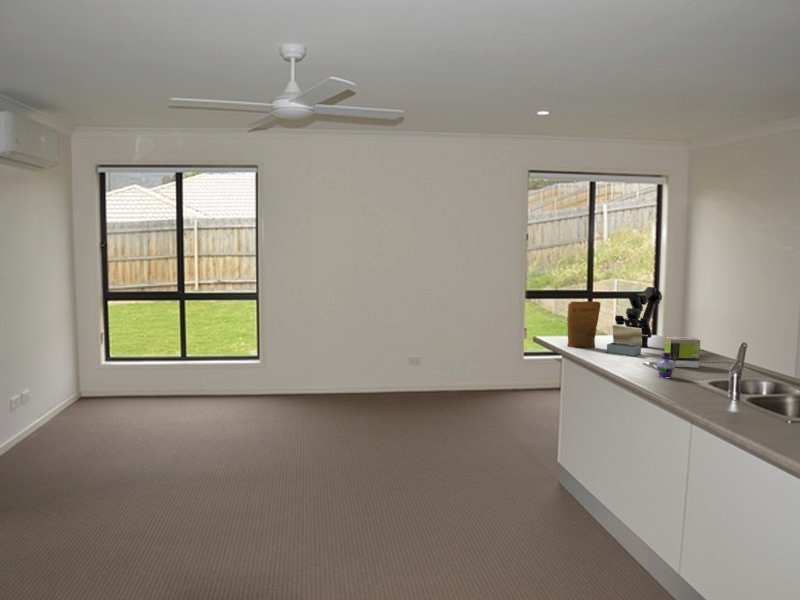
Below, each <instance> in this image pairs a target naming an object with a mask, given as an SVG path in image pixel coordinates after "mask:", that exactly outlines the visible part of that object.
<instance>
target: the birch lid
mask: <svg viewBox="0 0 800 600" xmlns="http://www.w3.org/2000/svg"><path fill="white" fill-rule="evenodd" d="M611 327H612V343H613V342H616V343H623V344H631V345H639V346H642V329H641V328H633V327H627V326H622V325H614V324H612V326H611Z"/></svg>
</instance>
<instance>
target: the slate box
mask: <svg viewBox="0 0 800 600" xmlns="http://www.w3.org/2000/svg"><path fill="white" fill-rule="evenodd" d="M610 353H613V354H612V355H617V354H619V355H618V356H624V355H625V356H624V357H631V358H636V357H638V356H640V355H641V353H642V347H641V346H638V345H631V344H624V343H616V342H613V341H612V342H610V343H607V344H606V354H610Z"/></svg>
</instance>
